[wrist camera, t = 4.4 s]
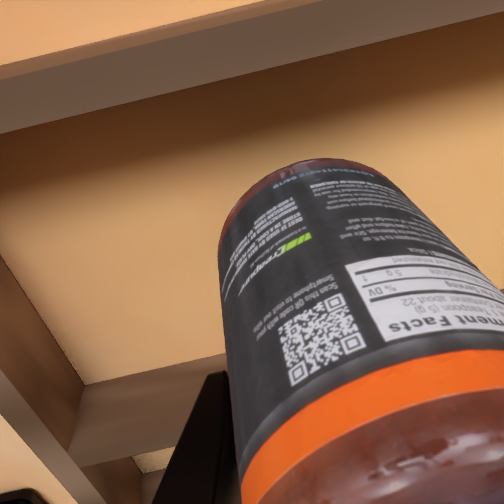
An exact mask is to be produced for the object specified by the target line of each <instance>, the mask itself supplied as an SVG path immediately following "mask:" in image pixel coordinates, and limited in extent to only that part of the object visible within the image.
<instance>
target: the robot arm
mask: <svg viewBox="0 0 504 504" xmlns="http://www.w3.org/2000/svg"><path fill="white" fill-rule="evenodd" d="M0 504H43V503H42V502H41V501H40V500H39V499H38V498H37V497H36V495H35V494H34V493H32V492H30V491H27V490H20V491H15V492H10V493H6V494H1V495H0ZM151 504H240V493H239V483H238V472H237V461H236V457H235V441H234V431H233V421H232V411H231V398H230V389H229V377H228V374H227V372H226V371H225V370H219V371H215V372H211V373H209V374H207V376H206V378H205V380H204V382H203V385H202V387H201V389H200V392H199V394H198V396H197V399H196V401H195V403H194V405H193V408H192V410H191V412H190V415H189V417H188V419H187V422H186V424H185V426H184V429H183V431H182V433H181V436H180V438H179V440H178V442H177V445H176V447H175V449H174V452H173V454H172V456H171V459H170V461H169V463H168V466H167V468H166V470H165V472H164V475H163V477H162V479H161V482H160V484H159V486H158V489H157V491H156V493H155V496H154V498H153V500H152V503H151Z"/></svg>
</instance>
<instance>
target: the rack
mask: <svg viewBox="0 0 504 504" xmlns="http://www.w3.org/2000/svg"><path fill="white" fill-rule="evenodd" d="M502 11H504V0H265V1H261V2H257V3H252V4H248V5H244V6H240V7H236V8H232V9H228V10H224V11H220V12H216V13H212V14H208V15H204V16H200V17H196V18H192V19H188V20H184V21H180V22H176V23H172V24H168V25H163V26H159V27H155V28H151V29H147V30H143V31H139V32H135V33H131V34H127V35H123V36H119V37H115V38H111V39H107V40H103V41H99V42H95V43H91V44H87V45H83V46H79V47H74V48H70V49H66V50H62V51H58V52H54V53H50V54H46V55H42V56H38V57H34V58H30V59H26V60H22V61H18V62H14V63H10V64H6V65H2V66H0V134H2V133H6V132H10V131H14V130H18V129H22V128H26V127H30V126H34V125H38V124H43V123H47V122H51V121H55V120H59V119H63V118H67V117H71V116H75V115H80V114H84V113H88V112H92V111H96V110H100V109H104V108H108V107H112V106H116V105H121V104H125V103H129V102H133V101H137V100H141V99H145V98H149V97H153V96H157V95H162V94H166V93H170V92H174V91H178V90H182V89H186V88H190V87H194V86H199V85H203V84H207V83H211V82H215V81H219V80H223V79H227V78H231V77H235V76H240V75H244V74H248V73H252V72H256V71H260V70H264V69H268V68H272V67H276V66H281V65H285V64H289V63H293V62H297V61H301V60H305V59H309V58H313V57H318V56H322V55H326V54H330V53H334V52H338V51H342V50H346V49H350V48H354V47H359V46H363V45H367V44H371V43H375V42H379V41H383V40H387V39H391V38H395V37H400V36H404V35H408V34H412V33H416V32H420V31H424V30H428V29H432V28H437V27H441V26H445V25H449V24H453V23H457V22H461V21H465V20H469V19H473V18H478V17H482V16H486V15H490V14H494V13H498V12H502ZM500 291H501V292H502V293H503V294H504V289H503V290H500ZM219 370H225V371H226V372H227V374H228V369H227V356H226V353H225V354H220V355H216V356H212V357H207V358H203V359H199V360H194V361H190V362H186V363H181V364H177V365H173V366H168V367H164V368H159V369H155V370H151V371H146V372H142V373H138V374H133V375H129V376H125V377H120V378H116V379H112V380H107V381H103V382H99V383H94V384H90V385H86V386H85V385H84V384H83V382H82V381H81V379H80V378H79V376H78V375H77V373H76V372H75V370H74V369H73V367H72V365H71V364H70V362H69V361H68V359H67V358H66V356H65V355H64V353H63V352H62V350H61V349H60V347H59V346H58V344H57V342H56V341H55V339H54V338H53V336H52V335H51V333H50V332H49V330H48V329H47V327H46V326H45V324H44V323H43V321H42V319H41V318H40V316H39V315H38V313H37V312H36V310H35V309H34V307H33V306H32V304H31V303H30V301H29V299H28V298H27V296H26V295H25V293H24V292H23V290H22V289H21V287H20V286H19V284H18V283H17V281H16V280H15V278H14V276H13V275H12V273H11V272H10V270H9V269H8V267H7V266H6V264H5V263H4V261H3V260H2V258H1V257H0V414H1V415H2V416H3V417H4V419H5V420H6V421H7V422H8V423H9V424H10V425H11V427H12V428H13V429H14V430H15V431H16V432H17V434H18V435H19V436H20V437H21V438H22V439H23V440H24V442H25V443H26V444H27V445H28V446H29V447H30V448H31V450H32V451H33V452H34V453H35V454H36V455H37V457H38V458H39V459H40V460H41V461H42V462H43V463H44V465H45V466H46V467H47V468H48V469H49V470H50V471H51V473H52V474H53V475H54V476H55V477H56V478H57V480H58V481H59V482H60V483H61V484H62V485H63V486H64V488H65V489H66V490H67V491H68V492H69V493H70V494H71V496H72V497H73V498H74V499H75V500H76V501H77V503H78V504H151V503H152V500H153V498H154V496H155V493H156V491H157V489H158V486H159V484H160V482H161V479H162V477H163V475H164V472H165V470H166V469H164V470H160V471H155V472H151V473H146V474H142V473H141V471H140V470H139V468H138V467H137V465H136V464H135V462H134V461H133V459H132V458H131V456H134V455H138V454H143V453H147V452H152V451H156V450H161V449H165V448H169V447H174V446H176V445H177V442H178V440H179V438H180V436H181V433H182V431H183V429H184V426H185V424H186V422H187V419H188V417H189V415H190V412H191V410H192V408H193V405H194V403H195V401H196V399H197V396H198V394H199V392H200V389H201V387H202V385H203V382H204V380H205V378H206V376H207V374H209V373H211V372H215V371H219Z"/></svg>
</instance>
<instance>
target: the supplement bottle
mask: <svg viewBox="0 0 504 504" xmlns="http://www.w3.org/2000/svg"><path fill="white" fill-rule="evenodd" d="M218 270H219V282H220V297H221V305H222V317H223V327H224V336H225V349H226V356H227V369H228V377H229V389H230V398H231V411H232V421H233V431H234V441H235V457H236V461H237V472H238V483H239V493H240V504H504V294H503V293H502V292H501V291H500V290H499V289H498V288H497V287H496V286H495V285H494V284H493V283H492V282H491V281H490V280H489V279H488V278H487V277H486V276H485V275H484V274H483V273H482V272H481V271H480V270H479V269H478V268H477V267H476V266H475V265H474V264H473V263H472V262H471V261H470V260H469V259H468V258H467V257H466V256H465V255H464V254H463V253H462V252H461V251H460V250H459V249H458V248H457V247H456V246H455V245H454V244H453V243H452V242H451V241H450V239H449V238H448V237H447V236H446V235H445V234H444V233H443V232H442V231H441V230H440V229H439V228H438V227H437V226H436V225H435V224H434V223H433V222H432V221H431V220H430V219H429V218H428V217H427V216H426V215H425V214H424V213H423V212H422V211H421V210H420V209H419V208H418V207H417V206H416V205H415V204H414V203H413V202H412V201H411V200H410V199H409V198H408V197H407V196H406V195H405V194H404V193H403V192H402V191H401V190H400V189H399V188H398V187H397V186H396V185H394V184H393V183H392V182H391V181H390V180H389V179H388V178H387V177H385V176H384V175H382V174H381V173H380V172H378V171H376V170H375V169H373V168H371V167H368V166H366V165H363V164H360V163H357V162H353V161H349V160H344V159H332V158H320V159H310V160H305V161H300V162H297V163H294V164H291V165H289V166H287V167H284V168H282V169H279V170H277V171H275V172H273V173H271V174H269V175H267V176H265V177H264V178H263V179H262V180H260V181H259V182H258V183H256V184H255V185H253V186H252V187H251V188H250V189H249V190H248V191H247V192H246V193H245V194H244V195H243V196H242V197H241V198H240V200H239V201H238V202H237V203H236V205H235V207H234V208H233V209H232V210H231V212H230V214H229V215H228V217H227V219H226V221H225V224H224V226H223V229H222V232H221V236H220V240H219V245H218Z"/></svg>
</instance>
